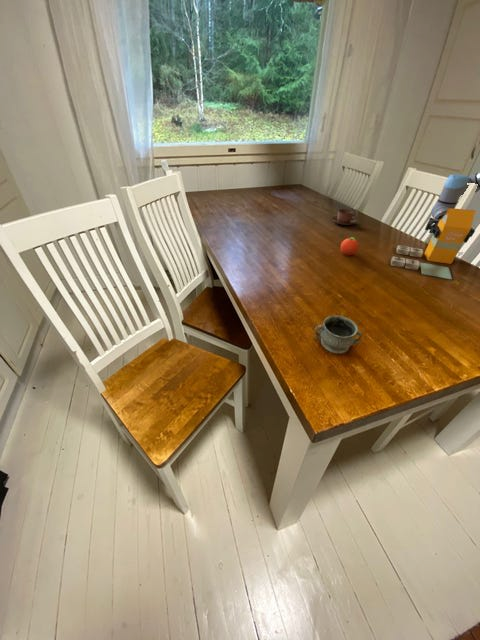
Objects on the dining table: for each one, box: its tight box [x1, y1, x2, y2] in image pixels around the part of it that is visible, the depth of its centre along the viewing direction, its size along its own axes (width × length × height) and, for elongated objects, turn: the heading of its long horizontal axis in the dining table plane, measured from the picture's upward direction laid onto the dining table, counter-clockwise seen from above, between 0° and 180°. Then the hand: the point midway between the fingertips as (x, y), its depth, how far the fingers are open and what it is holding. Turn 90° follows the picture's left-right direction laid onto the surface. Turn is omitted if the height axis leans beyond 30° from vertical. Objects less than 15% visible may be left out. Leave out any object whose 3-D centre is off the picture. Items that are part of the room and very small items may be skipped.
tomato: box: [340, 236, 359, 256], centre depth 114 cm, size 8×7×7 cm
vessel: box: [313, 314, 363, 354], centre depth 71 cm, size 12×9×6 cm
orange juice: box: [423, 208, 476, 265], centre depth 108 cm, size 8×9×20 cm
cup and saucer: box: [332, 208, 358, 226], centre depth 144 cm, size 12×12×6 cm
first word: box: [396, 245, 424, 258], centre depth 117 cm, size 10×4×2 cm, turn 66°
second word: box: [390, 255, 453, 281], centre depth 107 cm, size 21×10×2 cm, turn 66°
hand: (452, 236), depth 104 cm, fingers closed on orange juice, 9 cm apart
